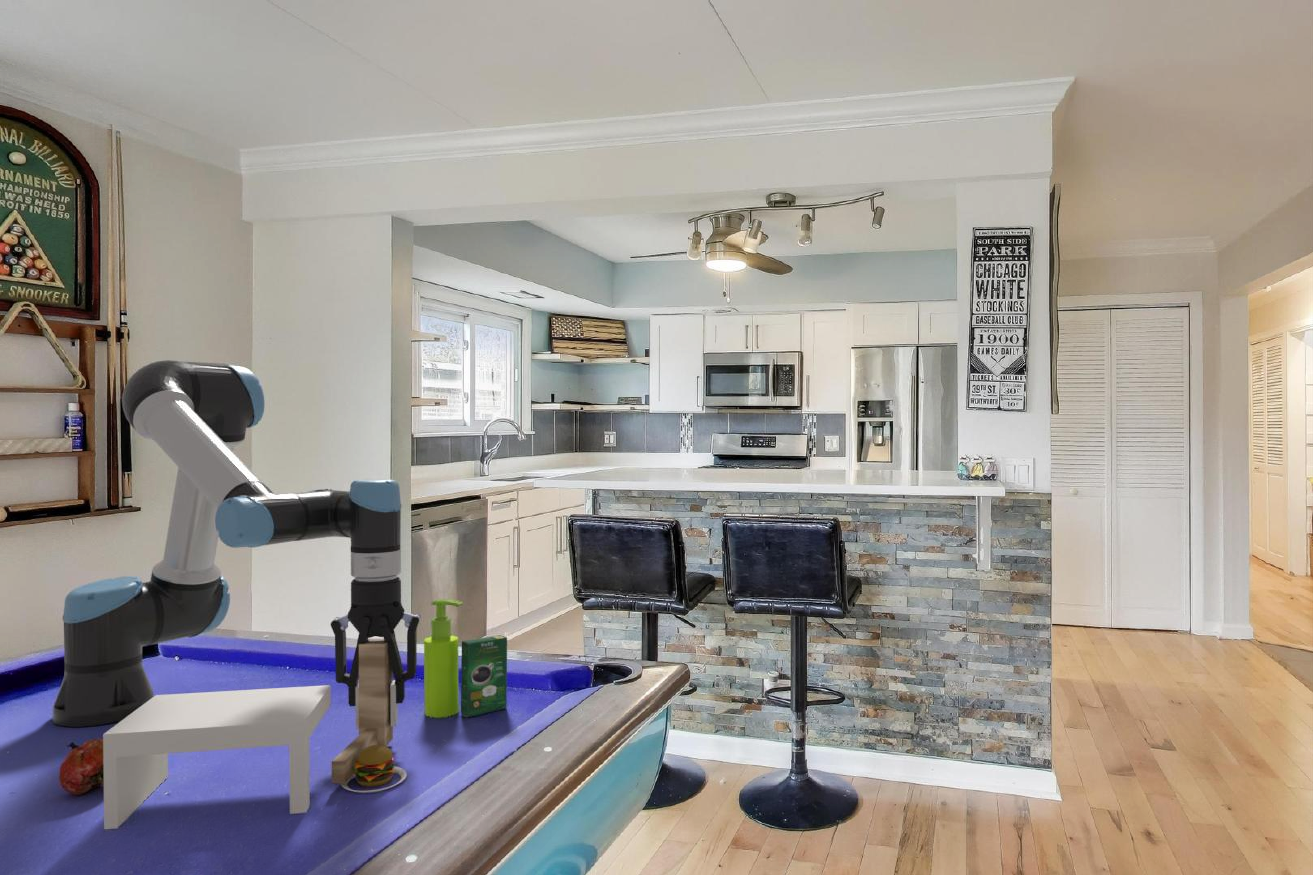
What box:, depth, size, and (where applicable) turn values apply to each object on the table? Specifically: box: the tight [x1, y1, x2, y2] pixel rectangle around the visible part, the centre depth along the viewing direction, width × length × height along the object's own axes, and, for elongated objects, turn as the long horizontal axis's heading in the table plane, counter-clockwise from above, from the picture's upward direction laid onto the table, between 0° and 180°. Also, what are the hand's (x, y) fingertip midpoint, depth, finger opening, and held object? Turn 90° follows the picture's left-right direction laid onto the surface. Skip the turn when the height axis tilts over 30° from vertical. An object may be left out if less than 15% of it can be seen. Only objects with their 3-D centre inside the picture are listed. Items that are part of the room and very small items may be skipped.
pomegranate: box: [58, 738, 104, 796], centre depth 116 cm, size 7×7×10 cm
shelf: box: [102, 684, 332, 830], centre depth 115 cm, size 16×24×12 cm, turn 100°
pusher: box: [331, 638, 394, 784], centre depth 124 cm, size 18×4×16 cm, turn 0°
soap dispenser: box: [423, 598, 465, 719], centre depth 148 cm, size 6×7×20 cm
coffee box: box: [460, 635, 508, 718], centre depth 148 cm, size 8×3×13 cm, turn 129°
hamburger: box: [340, 745, 408, 794], centre depth 119 cm, size 12×12×6 cm
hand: (377, 724), depth 132 cm, fingers closed on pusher, 4 cm apart
